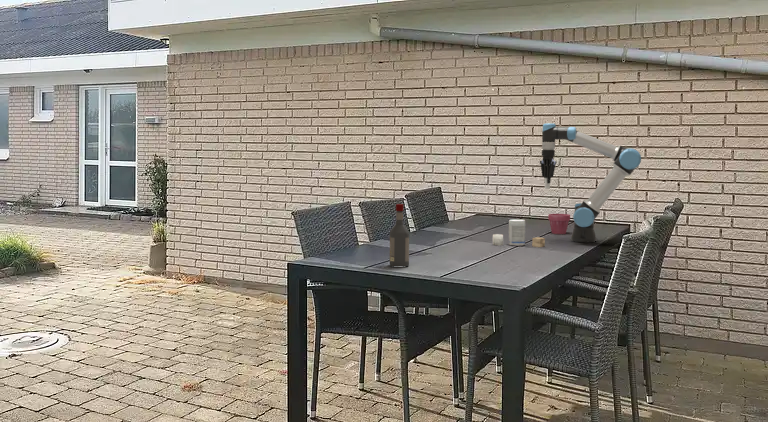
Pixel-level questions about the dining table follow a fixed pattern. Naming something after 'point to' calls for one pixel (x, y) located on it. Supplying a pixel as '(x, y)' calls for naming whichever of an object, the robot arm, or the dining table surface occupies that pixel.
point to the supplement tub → (517, 232)
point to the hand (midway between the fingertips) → (547, 188)
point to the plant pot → (559, 223)
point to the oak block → (538, 242)
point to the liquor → (399, 241)
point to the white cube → (498, 239)
